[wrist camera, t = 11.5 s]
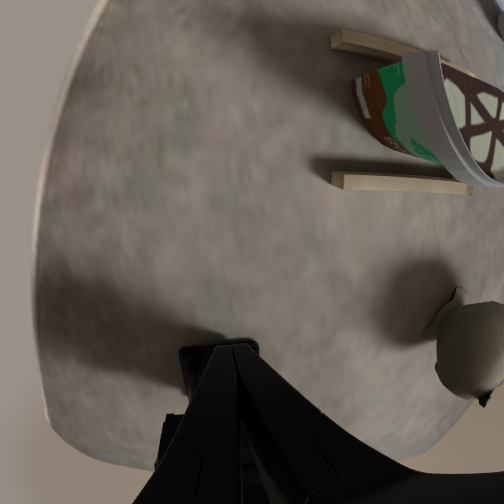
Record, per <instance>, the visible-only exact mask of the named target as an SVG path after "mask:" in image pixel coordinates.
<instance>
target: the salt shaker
mask: <svg viewBox="0 0 504 504" xmlns="http://www.w3.org/2000/svg"><path fill="white" fill-rule="evenodd" d="M497 27H498V29H499V32H500V34H501V36H502V39H503V41H504V11H503V12H502V13H501V14H500V15H499V16H498V17H497Z"/></svg>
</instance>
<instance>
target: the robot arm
mask: <svg viewBox="0 0 504 504" xmlns="http://www.w3.org/2000/svg"><path fill="white" fill-rule="evenodd" d="M252 346H255V347H254V348H251V347H252ZM183 353H187V354H183ZM179 359H180V363H181V368H182V373H183V378H184V382H185V387H186V391H187V396H188V399H189V405H188V407H187V409H186V412H185V414H180V415H174V414H166V419H165V422H163V427H162V433H161V439H160V445H159V451H158V457H157V459H156V461H155V464H154V467H155V471H154V473H153V475H152V476H151V478H150V479H149V480H148V482H147V483H146V485H145V486H144V488H143V489H142V490H141V492H140V493H139V495H138V496H137V498H136V499H135V500H134V502H133V503H132V504H504V471H501V472H492V473H476V474H432V473H424V472H420V471H416V470H413V469H410V468H408V467H406V466H404V465H401V464H400V463H398V462H396V461H394V460H393V459H391V458H389V457H387V456H385V455H384V454H382V453H380V452H378V451H377V450H375V449H373V448H372V447H370V446H368V445H367V444H365V443H363V442H362V441H360V440H359V439H357V438H356V437H354V436H353V435H351V434H349V433H348V432H347V431H345V430H344V429H343V428H341V427H340V426H339V425H337V424H336V423H335V422H334V421H332V420H331V419H330V418H329V417H328V416H326V415H325V414H324V413H322V414H321V411H320V410H319V409H318V408H317V407H316V406H315V405H313V404H312V403H311V402H310V401H309V400H308V399H306V398H305V397H304V396H303V395H302V394H301V393H300V392H298V391H297V390H296V389H295V388H294V387H293V386H292V385H291V384H289V383H288V382H287V381H286V380H285V379H284V378H283V377H282V376H281V375H279V374H278V373H277V372H276V371H275V370H274V369H273V368H272V367H271V366H270V365H269V364H268V363H266V362H265V361H264V360H263V359H262V358H261V357H260V356H259V346H258V343H257V342H255V341H248V342H239V343H229V344H218V345H206V346H193V347H183V348H181V349H180V350H179Z"/></svg>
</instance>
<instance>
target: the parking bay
mask: <svg viewBox="0 0 504 504" xmlns="http://www.w3.org/2000/svg"><path fill="white" fill-rule="evenodd" d="M330 42H331V49H337V50H342V51H348V52H352V53H357V54H362V55H366V56H371V57H375V58H379V59H383V60H387V61H390V62H394V63H397V62H400V61H402V54H403V53H410V52H418V51H419V50H417V49H414V48H411V47H408V46H405V45H402V44H399V43H396V42H393V41H389V40H386V39H383V38H379V37H375V36H372V35H368V34H364V33H360V32H356V31H352V30H347V29H341V30H339V31H338V32H336V33H335V34H333V35H332V36H330ZM440 62H441V63H444V64H446V65H448V66H450V67H453V68H455V69H457V70H459V71H461V72H463V73H465V74H468V75H470V76H472V77H474V78H475V74H473V73H471V72H469V71H467V70H465V69H463V68H461V67H458V66H456V65H454V64H452V63H449V62H447V61H445V60H442V59H440ZM331 185H333V186H335V187H338V188H340V189H343V190H386V191H414V192H435V193H451V194H466V195H472V191H473V186H469V185H466V184H464V183H463V182H461V181H459V180H457V179H456V178H455V177H454V176H453V175H452V179H450V178H440V177H430V176H419V175H407V174H393V173H377V172H356V171H331Z"/></svg>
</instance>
